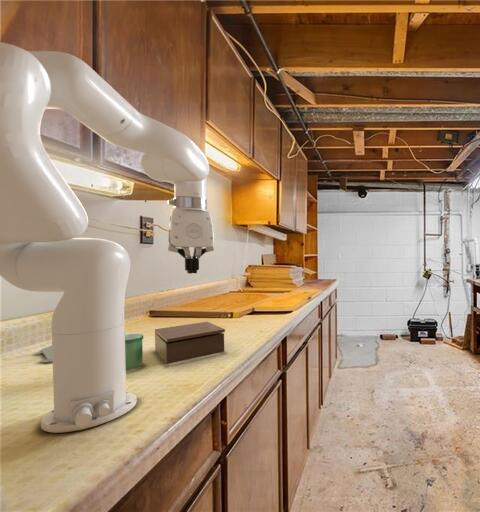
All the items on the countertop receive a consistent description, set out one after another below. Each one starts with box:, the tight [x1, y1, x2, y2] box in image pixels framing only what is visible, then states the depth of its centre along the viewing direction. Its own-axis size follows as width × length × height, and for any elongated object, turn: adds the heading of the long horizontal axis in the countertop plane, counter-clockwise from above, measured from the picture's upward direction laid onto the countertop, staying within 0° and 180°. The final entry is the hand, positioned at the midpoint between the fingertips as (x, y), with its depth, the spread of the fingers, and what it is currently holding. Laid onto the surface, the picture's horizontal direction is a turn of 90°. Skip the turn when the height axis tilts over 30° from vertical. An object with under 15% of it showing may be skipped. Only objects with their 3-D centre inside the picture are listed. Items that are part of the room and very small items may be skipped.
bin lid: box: [154, 321, 226, 342], centre depth 89 cm, size 16×14×1 cm
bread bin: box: [154, 331, 225, 365], centre depth 89 cm, size 16×14×6 cm
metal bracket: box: [35, 344, 53, 364], centre depth 91 cm, size 14×6×15 cm
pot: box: [125, 333, 144, 371], centre depth 77 cm, size 6×6×8 cm
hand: (192, 273), depth 86 cm, fingers closed
